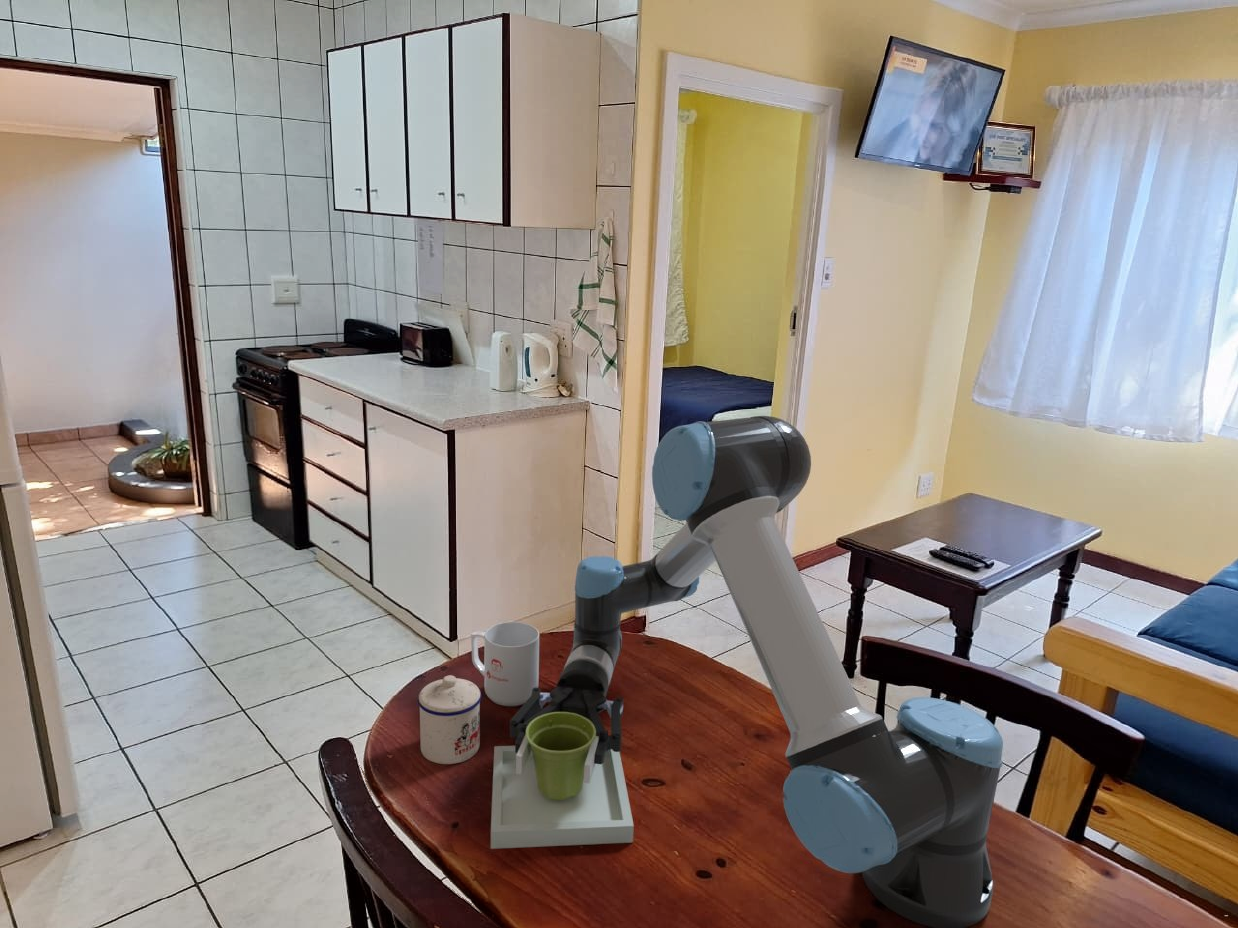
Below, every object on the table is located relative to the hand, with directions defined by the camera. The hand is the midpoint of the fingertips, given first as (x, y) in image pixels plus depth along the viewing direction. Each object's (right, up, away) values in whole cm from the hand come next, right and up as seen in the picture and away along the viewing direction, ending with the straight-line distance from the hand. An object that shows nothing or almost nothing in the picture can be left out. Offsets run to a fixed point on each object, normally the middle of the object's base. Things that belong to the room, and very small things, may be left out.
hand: (552, 769), depth 110 cm
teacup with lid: (-16, -3, +18) cm, 25 cm away
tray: (0, -6, +7) cm, 9 cm away
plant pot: (0, -5, +6) cm, 8 cm away
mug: (-11, +1, +32) cm, 34 cm away
